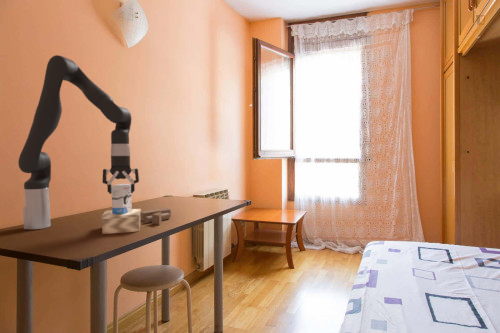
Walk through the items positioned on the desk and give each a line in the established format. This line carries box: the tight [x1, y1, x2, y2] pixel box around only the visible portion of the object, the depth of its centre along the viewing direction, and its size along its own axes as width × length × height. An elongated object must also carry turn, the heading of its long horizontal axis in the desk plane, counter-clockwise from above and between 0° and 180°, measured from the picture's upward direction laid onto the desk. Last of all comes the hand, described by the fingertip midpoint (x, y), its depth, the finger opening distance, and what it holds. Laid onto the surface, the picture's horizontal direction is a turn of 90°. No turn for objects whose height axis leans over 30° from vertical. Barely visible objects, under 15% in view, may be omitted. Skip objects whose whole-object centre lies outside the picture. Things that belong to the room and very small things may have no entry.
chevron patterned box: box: [100, 208, 142, 235], centre depth 145 cm, size 15×15×7 cm
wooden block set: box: [140, 207, 172, 226], centre depth 162 cm, size 17×6×18 cm
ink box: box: [111, 183, 133, 214], centre depth 144 cm, size 8×5×12 cm, turn 173°
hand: (121, 193), depth 144 cm, fingers open, 8 cm apart
